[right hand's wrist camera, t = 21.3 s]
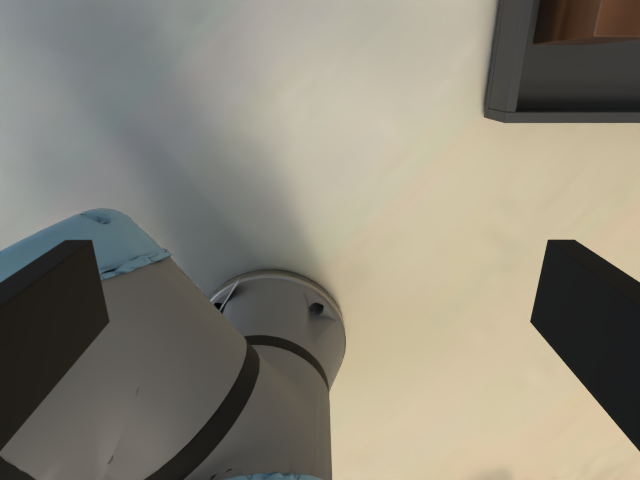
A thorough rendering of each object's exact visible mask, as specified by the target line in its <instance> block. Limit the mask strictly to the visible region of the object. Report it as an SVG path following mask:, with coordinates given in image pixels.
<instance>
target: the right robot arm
mask: <svg viewBox="0 0 640 480" xmlns="http://www.w3.org/2000/svg"><path fill="white" fill-rule="evenodd" d="M171 255H172V254H171V253H170V252H169V251H168V250H167V249H162V248H161V247H160V246H159V245H158V244H157V243H156V242H155V241H154V240H153V239H152V238H151V237H149V236H148V235H147V234H146V233H145V232H144V231H143V230H142V229H141V228H140V227H139V226H138V225H137V224H136V223H135V222H134V221H133V220H132V219H131V218H129V217H128V216H127V215H125V214H124V213H122V212H120V211H117V210H113V209H94V210H89V211H86V212H83V213H80V214H77V215H75V216H72V217H70V218H68V219H65V220H63V221H61V222H59V223H56V224H54V225H52V226H50V227H48V228H45V229H43V230H41V231H39V232H37V233H35V234H33V235H31V236H29V237H27V238H25V239H23V240H21V241H19V242H17V243H15V244H13V245H11V246H9V247H7V248H5V249H3V250H2V251H0V480H332V461H331V431H330V401H329V391H330V389H331V386H332V384H333V382H334V380H335V377H336V375H337V373H338V371H339V368H340V366H341V364H342V361H343V358H344V354H345V347H346V338H345V328H344V322H343V318H342V315H341V313H340V311H339V309H338V307H337V305H336V303H335V302H334V300H333V299H332V298H331V297H330V296H329V294H328V293H327V292H326V291H325V290H323V289H322V288H321V287H320V286H318V285H317V284H315V283H314V282H312V281H311V280H309V279H307V278H305V277H302V276H300V275H297V274H294V273H290V272H286V271H279V270H260V271H253V272H249V273H245V274H242V275H240V276H237V277H235V278H233V279H231V280H229V281H228V282H226V283H225V284H223V285H222V286H221V287H220V288H219V289H217V290H216V291H215V293H214V294H213V295H212V296H211V297H210V299H208V298H207V297H206V296H205V295H204V294H203V293H202V292H201V291H200V290H199V288H198V287H197V286H196V285H195V284H194V283H193V282H192V281H191V280H190V279H189V278H188V276H187V275H186V274H185V273H184V272H183V271H182V270H181V269H180V268H179V267H178V266H177V264H176V263H175V262H174V261H173V260H172V259H171V258H170V257H169V256H171ZM530 322H531V323H532V325H533V326H534V327H535V328H536V329H537V330H538V332H539V333H540V334H541V335H542V336H543V338H544V339H545V340H546V341H547V342H548V343H549V345H550V346H551V347H552V348H553V349H554V351H555V352H556V353H557V354H558V355H559V356H560V358H561V359H562V360H563V361H564V362H565V364H566V365H567V366H568V367H569V368H570V370H571V371H572V372H573V373H574V374H575V375H576V377H577V378H578V379H579V380H580V381H581V383H582V384H583V385H584V386H585V387H586V388H587V390H588V391H589V392H590V393H591V394H592V396H593V397H594V398H595V399H596V400H597V401H598V403H599V404H600V405H601V406H602V407H603V409H604V410H605V411H606V412H607V413H608V415H609V416H610V417H611V418H612V419H613V420H614V422H615V423H616V424H617V425H618V426H619V428H620V429H621V430H622V431H623V432H624V433H625V435H626V436H627V437H628V438H629V439H630V441H631V442H632V443H633V444H634V445H635V446H636V448H637V449H638V450H639V451H640V282H638V281H637V280H635V279H634V278H632V277H631V276H629V275H628V274H626V273H625V272H623V271H621V270H620V269H618V268H617V267H615V266H614V265H612V264H611V263H609V262H608V261H606V260H605V259H603V258H602V257H600V256H599V255H597V254H596V253H594V252H592V251H591V250H589V249H588V248H586V247H585V246H583V245H582V244H580V243H579V242H577V241H576V240H548V242H547V246H546V251H545V256H544V260H543V265H542V270H541V274H540V279H539V283H538V288H537V293H536V297H535V302H534V307H533V311H532V316H531V320H530Z"/></svg>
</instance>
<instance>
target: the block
mask: <svg viewBox="0 0 640 480" xmlns="http://www.w3.org/2000/svg"><path fill="white" fill-rule="evenodd" d="M633 40H640V0H541V2H540V8H539V13H538V19H537V25H536V30H535V36H534V42H533V44H534V45H594V44H604V43H613V42H623V41H633Z"/></svg>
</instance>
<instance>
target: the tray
mask: <svg viewBox="0 0 640 480" xmlns="http://www.w3.org/2000/svg"><path fill="white" fill-rule="evenodd" d="M540 2H541V0H500V4H499V11H498V19H497V26H496V33H495V40H494V47H493V55H492V62H491V69H490V76H489V83H488V91H487V98H486V105H485V112H484V117H485V118H488V119H492V120H496V121H499V122H503V123H640V40H633V41H623V42H613V43H604V44H594V45H534V44H533V42H534V36H535V30H536V25H537V19H538V13H539V8H540Z"/></svg>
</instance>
